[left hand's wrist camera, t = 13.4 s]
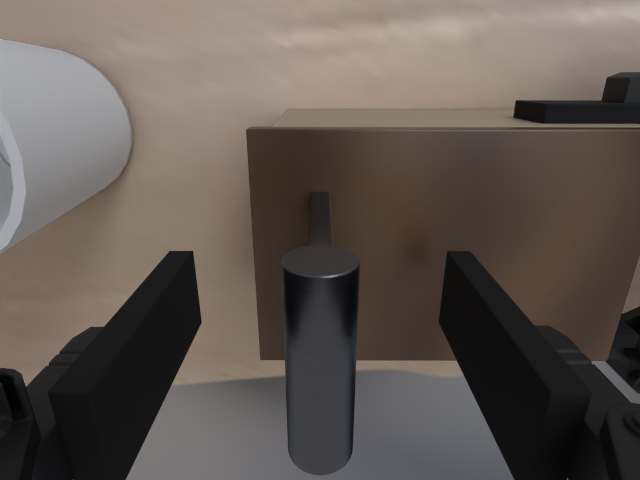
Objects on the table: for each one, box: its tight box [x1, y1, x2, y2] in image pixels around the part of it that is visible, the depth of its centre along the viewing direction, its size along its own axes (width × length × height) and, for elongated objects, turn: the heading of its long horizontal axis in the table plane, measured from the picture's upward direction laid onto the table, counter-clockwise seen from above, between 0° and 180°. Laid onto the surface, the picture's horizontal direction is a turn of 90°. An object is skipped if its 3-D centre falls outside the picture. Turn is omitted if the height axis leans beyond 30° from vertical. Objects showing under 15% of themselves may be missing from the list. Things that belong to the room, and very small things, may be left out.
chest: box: [272, 109, 640, 127], centre depth 21 cm, size 14×10×9 cm
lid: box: [246, 127, 640, 475], centre depth 13 cm, size 15×10×8 cm, turn 90°
